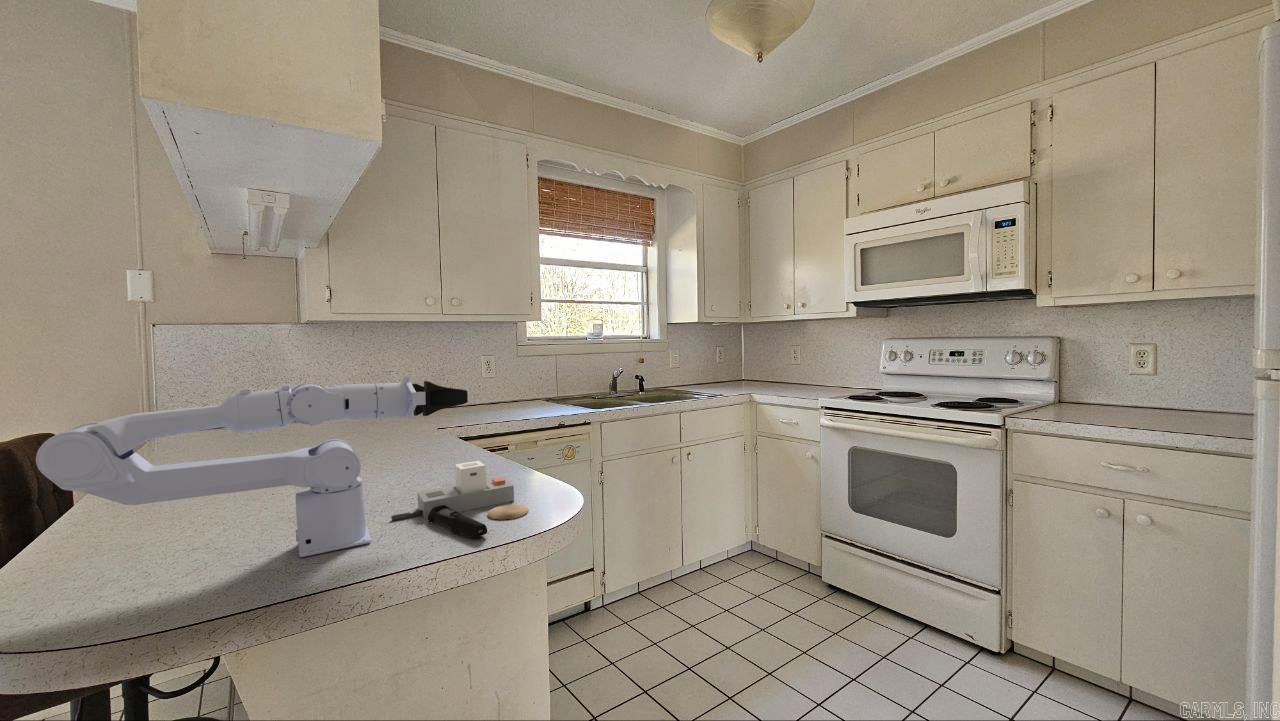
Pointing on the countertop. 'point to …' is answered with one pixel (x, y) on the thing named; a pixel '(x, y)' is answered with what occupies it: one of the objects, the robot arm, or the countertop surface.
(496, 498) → the power strip
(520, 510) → the coaster
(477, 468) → the box
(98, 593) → the countertop surface
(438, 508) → the electric trimmer
